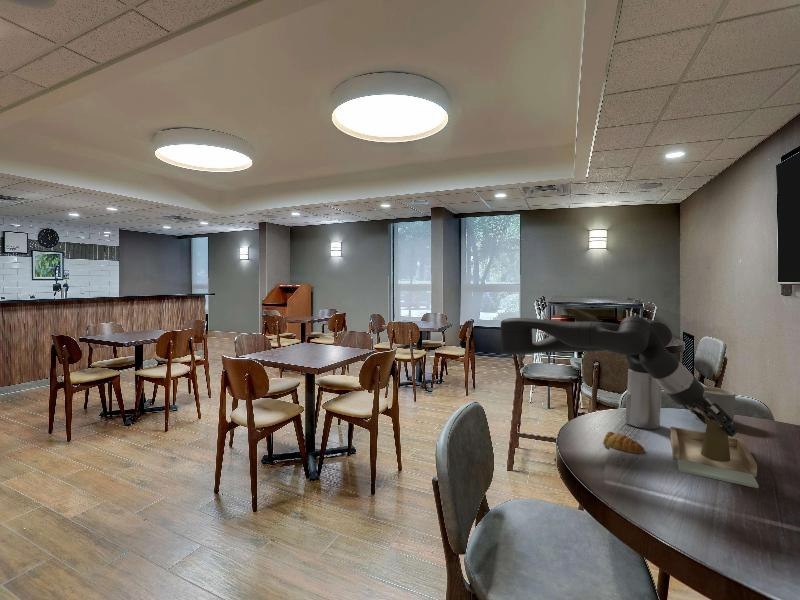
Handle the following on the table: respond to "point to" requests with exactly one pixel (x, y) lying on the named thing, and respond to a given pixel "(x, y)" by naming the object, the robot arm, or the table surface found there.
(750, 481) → the panel
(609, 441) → the pastry
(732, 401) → the coffee mug
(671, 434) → the tray
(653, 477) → the table surface
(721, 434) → the cork
